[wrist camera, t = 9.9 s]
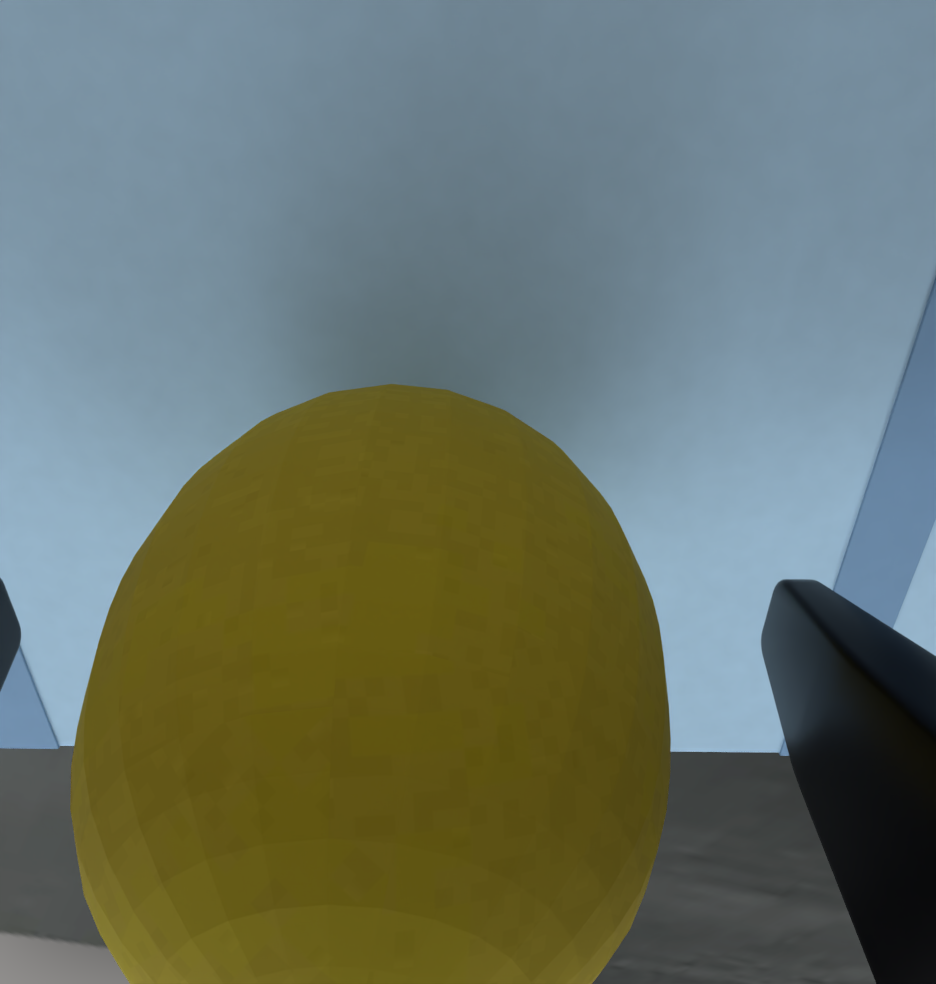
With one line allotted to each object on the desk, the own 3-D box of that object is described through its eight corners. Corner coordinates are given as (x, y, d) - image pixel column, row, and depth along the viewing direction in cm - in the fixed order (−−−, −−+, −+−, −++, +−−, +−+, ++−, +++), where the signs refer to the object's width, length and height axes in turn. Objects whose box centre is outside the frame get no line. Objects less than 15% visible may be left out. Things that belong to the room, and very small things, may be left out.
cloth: (1380, -217, 8) (1429, -231, 7) (929, 738, 15) (941, 757, 14) (-606, -243, 8) (-666, -259, 7) (-90, 728, 15) (-105, 747, 14)
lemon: (434, 668, 13) (398, 1333, 6) (158, 486, 11) (-311, 1158, 5) (677, 466, 11) (1006, 1135, 4) (389, 203, 9) (167, 654, 2)
